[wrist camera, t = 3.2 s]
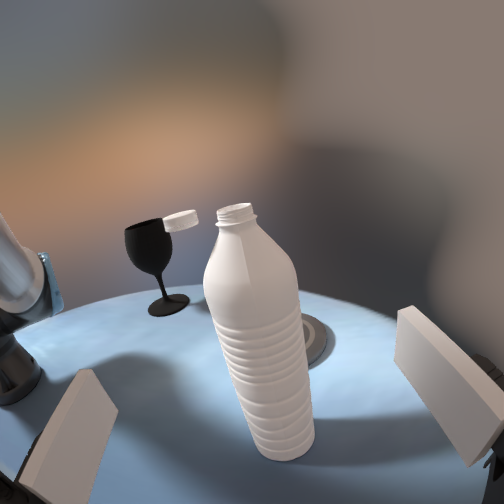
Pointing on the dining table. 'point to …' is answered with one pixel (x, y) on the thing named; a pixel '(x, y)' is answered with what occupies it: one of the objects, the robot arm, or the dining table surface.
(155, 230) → the wine glass
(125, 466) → the dining table surface
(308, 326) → the slate coaster
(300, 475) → the dining table surface
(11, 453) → the dining table surface
